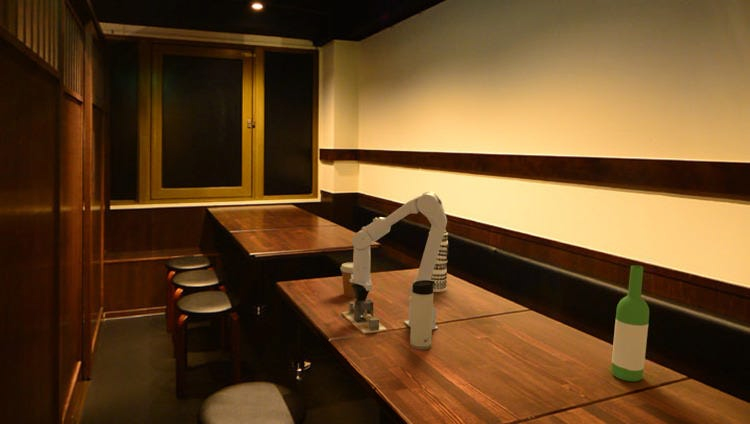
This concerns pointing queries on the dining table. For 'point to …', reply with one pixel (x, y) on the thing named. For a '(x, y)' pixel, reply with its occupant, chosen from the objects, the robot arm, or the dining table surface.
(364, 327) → the pipe stand
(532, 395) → the dining table surface
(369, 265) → the robot arm
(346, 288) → the disposable coffee cup
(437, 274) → the decorative candle
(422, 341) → the travel mug
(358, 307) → the grey notched block
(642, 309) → the wine bottle
